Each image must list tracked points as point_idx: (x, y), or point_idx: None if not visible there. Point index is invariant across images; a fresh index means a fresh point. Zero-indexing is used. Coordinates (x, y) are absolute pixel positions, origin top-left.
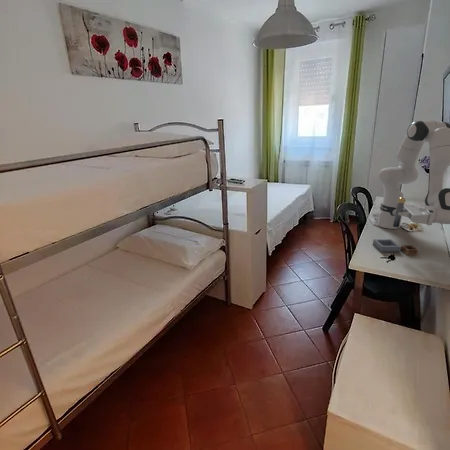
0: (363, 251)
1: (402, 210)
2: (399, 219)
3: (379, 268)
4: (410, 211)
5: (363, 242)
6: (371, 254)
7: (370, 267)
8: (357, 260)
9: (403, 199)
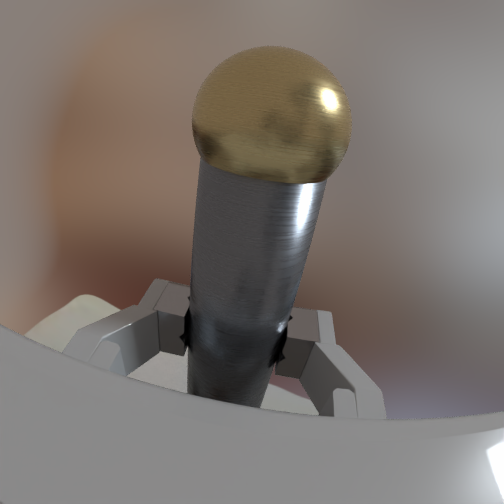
0: (182, 364)
1: (201, 316)
2: (187, 393)
3: (35, 340)
4: (64, 363)
5: (294, 402)
6: (148, 379)
7: (52, 321)
8: (107, 311)
9: (216, 68)
